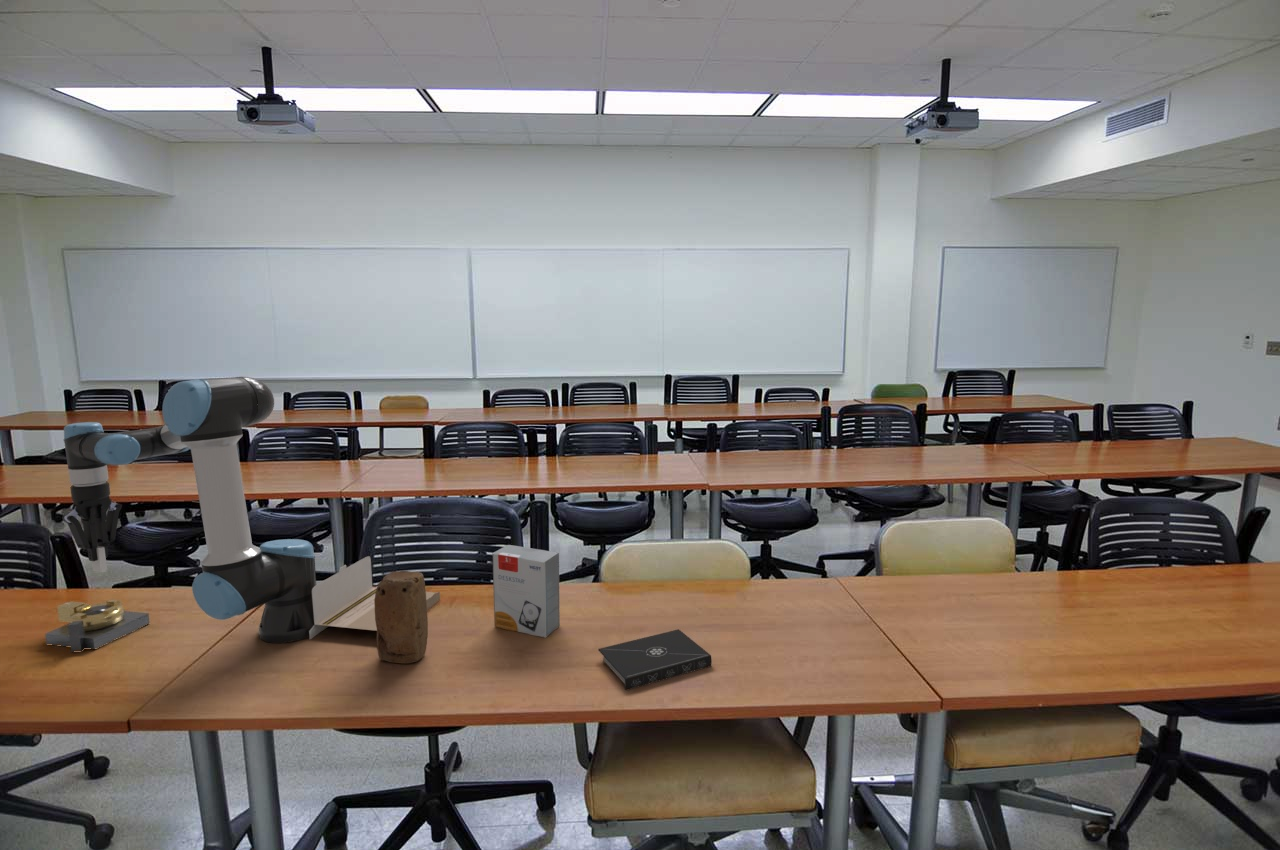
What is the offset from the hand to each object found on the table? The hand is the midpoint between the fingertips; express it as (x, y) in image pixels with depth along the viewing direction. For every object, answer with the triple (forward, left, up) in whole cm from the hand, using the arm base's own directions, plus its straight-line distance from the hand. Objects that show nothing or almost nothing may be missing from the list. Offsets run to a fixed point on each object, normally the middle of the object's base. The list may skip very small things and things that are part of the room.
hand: (100, 571), depth 165 cm
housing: (-7, +8, -13) cm, 17 cm away
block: (-88, +4, -14) cm, 89 cm away
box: (-71, -13, -14) cm, 73 cm away
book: (-146, -4, -14) cm, 147 cm away
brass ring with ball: (-5, +7, -10) cm, 13 cm away
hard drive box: (-111, -16, -14) cm, 113 cm away
